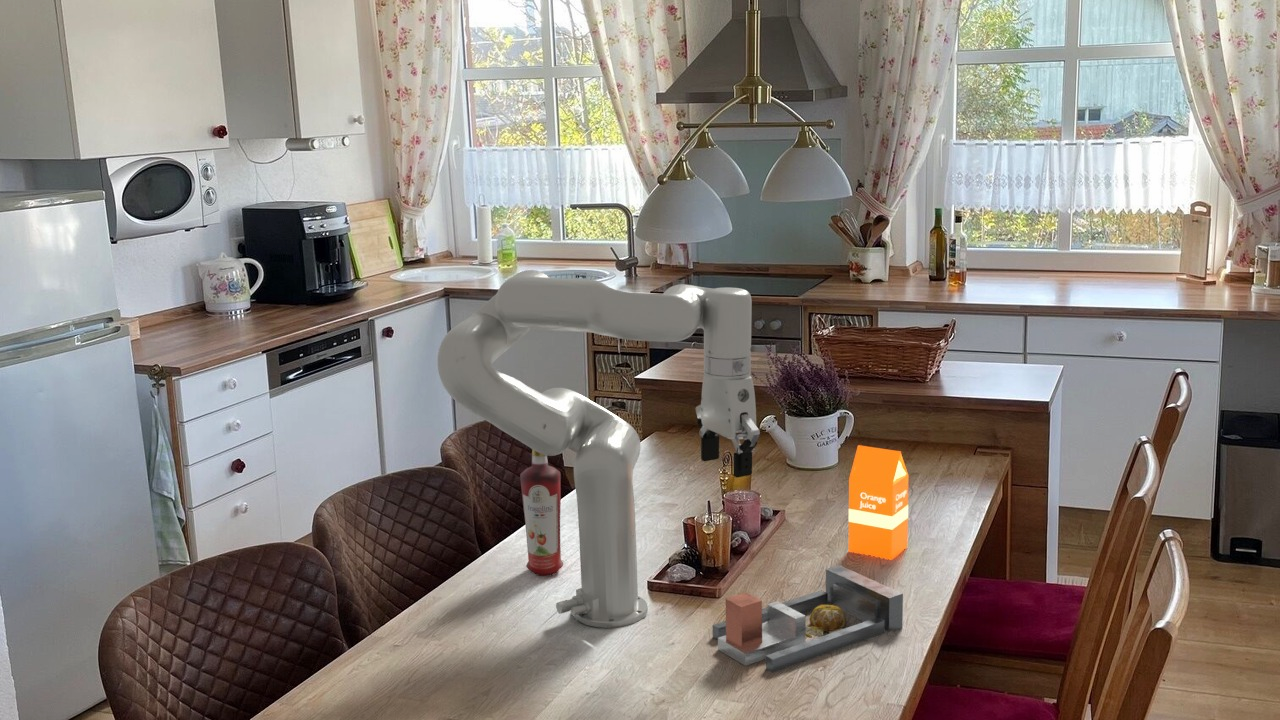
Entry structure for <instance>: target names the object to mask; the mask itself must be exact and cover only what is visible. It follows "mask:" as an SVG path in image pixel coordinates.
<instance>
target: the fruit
mask: <svg viewBox="0 0 1280 720" xmlns="http://www.w3.org/2000/svg"><path fill="white" fill-rule="evenodd" d="M846 620H847V619H846V616H845V612H844V611H842V610H841V609H840V608H839V607H838V606H834V605H833V604H828V605H820V606H817V607H816V608H815V609H814V610H811V613H810V616H809V622H810V623H809V624H810V626H806V637H808V638H813V636H818V637H822V636H824V632H826V633H827V632H828V634H830V633H833V632H836V631H839V630H842V629H845V626H846V625H847V624H846V622H847V621H846ZM812 635H813V636H812Z"/></svg>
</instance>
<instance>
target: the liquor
mask: <svg viewBox="0 0 1280 720" xmlns="http://www.w3.org/2000/svg"><path fill="white" fill-rule="evenodd" d="M531 450H532V451H531V466H529V467H527V468H525V469H524V470H522V472H521V473H520V475H519V477H520V486H521V497H522V499H521V500H522V506H523V507H522V508H523V513H524V514H523V515H524V522H525V533H526V544H527V545H526V546H527V556H528V557H527V558H528V561H527V562H526V565H525V566H526V568H527V569H528V570H529V571H530V572H531V573H533V574H534V575H535V576H539V577H547V576H548V577H550V576H553V575H556V574H557V573H558V572H559V570H561V569H562V568H563V566H564V562H563V560H562V553H561V552H562V551H561V502H562V501H561V500H562V499H561V497H562V496H561V471H560V470H558V469H557V468H556V467H554V466H551V465H549V461H548V455H543V454H541V453H538V452H536V451H535V450H533V449H531Z"/></svg>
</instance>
